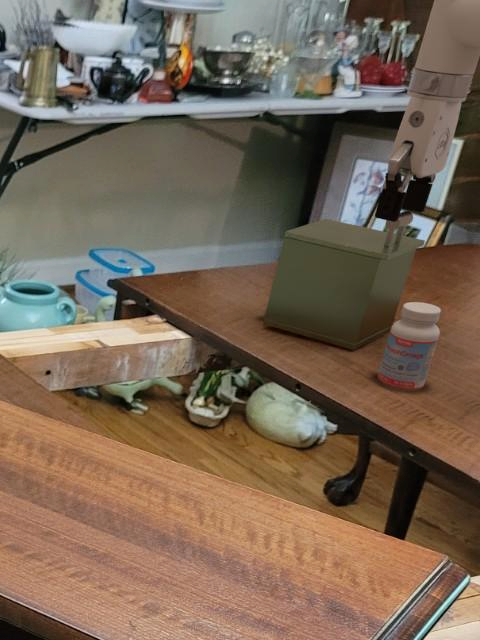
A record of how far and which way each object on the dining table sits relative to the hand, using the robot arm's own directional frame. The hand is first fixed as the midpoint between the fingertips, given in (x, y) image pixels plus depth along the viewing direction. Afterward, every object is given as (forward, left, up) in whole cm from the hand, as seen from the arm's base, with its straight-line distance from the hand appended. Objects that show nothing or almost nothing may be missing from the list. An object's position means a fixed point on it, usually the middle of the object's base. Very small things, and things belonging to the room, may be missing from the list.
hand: (399, 214), depth 159 cm
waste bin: (+4, -4, -18) cm, 19 cm away
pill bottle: (+1, +21, -19) cm, 28 cm away
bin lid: (+4, -3, -5) cm, 7 cm away
